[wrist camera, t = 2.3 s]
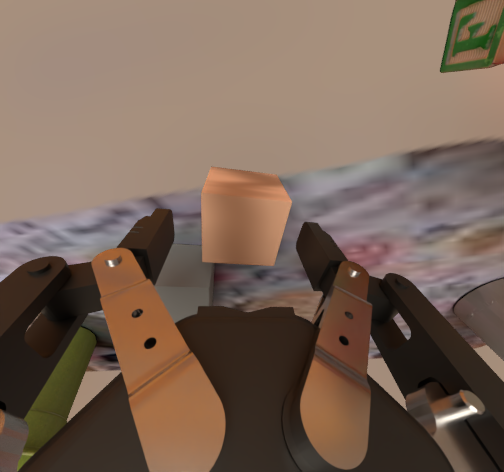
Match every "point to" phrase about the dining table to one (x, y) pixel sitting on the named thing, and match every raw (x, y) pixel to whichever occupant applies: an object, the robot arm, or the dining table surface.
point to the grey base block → (185, 281)
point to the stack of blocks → (474, 36)
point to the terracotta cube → (242, 217)
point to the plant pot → (58, 394)
